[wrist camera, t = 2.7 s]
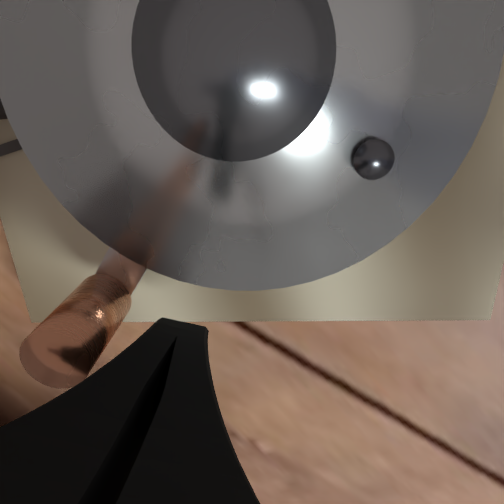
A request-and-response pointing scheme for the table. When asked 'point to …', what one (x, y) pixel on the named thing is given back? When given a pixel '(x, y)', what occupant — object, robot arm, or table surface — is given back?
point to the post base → (299, 296)
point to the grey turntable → (236, 137)
